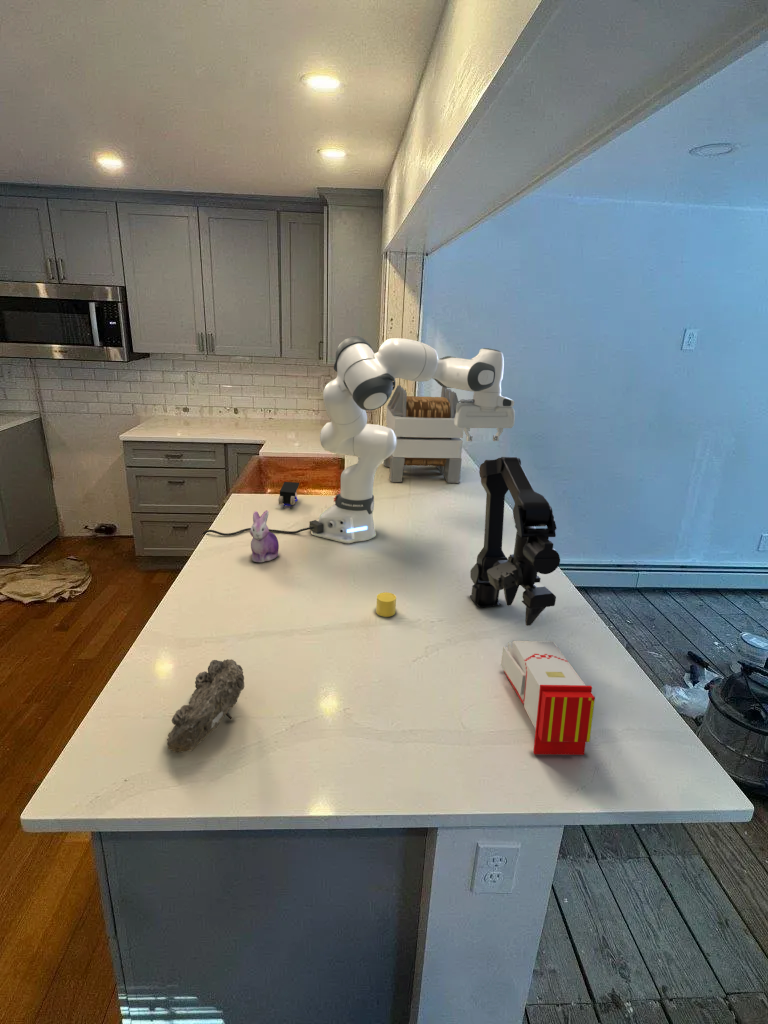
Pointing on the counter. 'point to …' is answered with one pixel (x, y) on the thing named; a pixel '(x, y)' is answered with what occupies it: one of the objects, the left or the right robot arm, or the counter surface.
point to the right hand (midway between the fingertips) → (518, 615)
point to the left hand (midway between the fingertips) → (482, 440)
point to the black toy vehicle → (288, 494)
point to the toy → (550, 696)
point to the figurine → (262, 539)
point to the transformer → (424, 434)
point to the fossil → (206, 705)
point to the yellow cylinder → (386, 604)
